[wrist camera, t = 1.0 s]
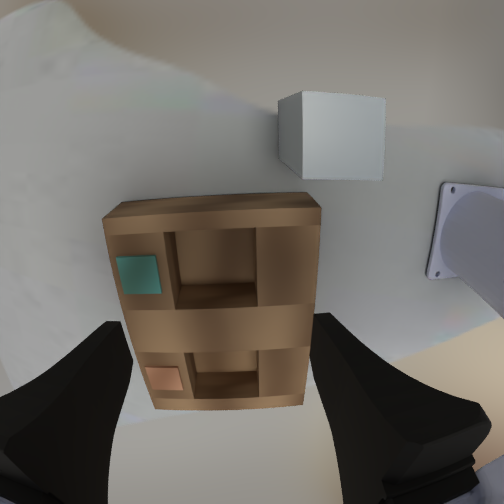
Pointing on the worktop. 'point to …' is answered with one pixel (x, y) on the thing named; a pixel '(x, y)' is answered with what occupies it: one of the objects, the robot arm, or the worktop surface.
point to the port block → (218, 296)
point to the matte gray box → (332, 135)
